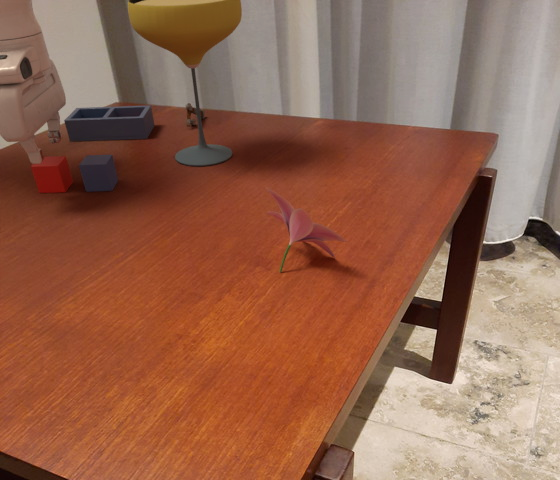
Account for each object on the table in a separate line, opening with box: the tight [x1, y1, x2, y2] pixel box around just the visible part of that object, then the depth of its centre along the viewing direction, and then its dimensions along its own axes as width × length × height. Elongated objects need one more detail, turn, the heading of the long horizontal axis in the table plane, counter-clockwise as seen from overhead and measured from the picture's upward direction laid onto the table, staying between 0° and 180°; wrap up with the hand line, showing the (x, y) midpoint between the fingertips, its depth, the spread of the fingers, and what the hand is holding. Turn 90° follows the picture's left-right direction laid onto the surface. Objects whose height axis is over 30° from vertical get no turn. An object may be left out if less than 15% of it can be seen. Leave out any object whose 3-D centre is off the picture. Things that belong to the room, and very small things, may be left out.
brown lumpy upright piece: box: [185, 102, 205, 128], centre depth 118 cm, size 2×8×4 cm, turn 167°
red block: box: [30, 155, 74, 194], centre depth 94 cm, size 4×4×4 cm
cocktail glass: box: [127, 0, 243, 167], centre depth 96 cm, size 18×18×25 cm
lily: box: [264, 186, 348, 273], centre depth 71 cm, size 12×12×10 cm
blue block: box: [78, 154, 119, 193], centre depth 94 cm, size 4×4×4 cm
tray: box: [63, 104, 155, 142], centre depth 115 cm, size 8×16×4 cm, turn 89°
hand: (47, 151), depth 91 cm, fingers open, 8 cm apart
